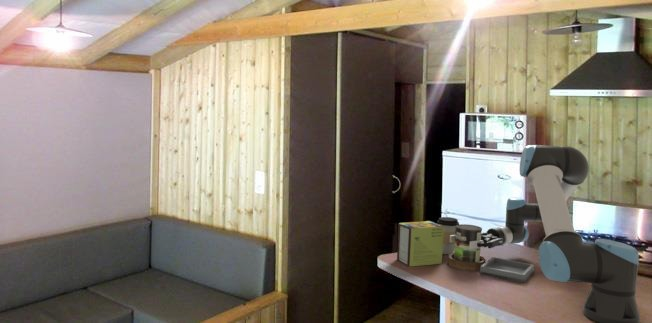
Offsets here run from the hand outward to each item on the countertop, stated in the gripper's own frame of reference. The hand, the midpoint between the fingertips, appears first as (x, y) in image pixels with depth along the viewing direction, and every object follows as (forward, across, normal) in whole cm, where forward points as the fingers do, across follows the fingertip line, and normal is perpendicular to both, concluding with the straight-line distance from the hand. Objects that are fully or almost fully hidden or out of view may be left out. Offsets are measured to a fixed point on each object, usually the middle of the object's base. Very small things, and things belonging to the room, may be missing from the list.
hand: (460, 242), depth 200 cm
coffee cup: (-10, +17, -10) cm, 22 cm away
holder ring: (-4, 0, -10) cm, 11 cm away
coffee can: (-4, 0, -9) cm, 10 cm away
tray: (-11, -14, -10) cm, 21 cm away
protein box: (+10, +12, -10) cm, 19 cm away
